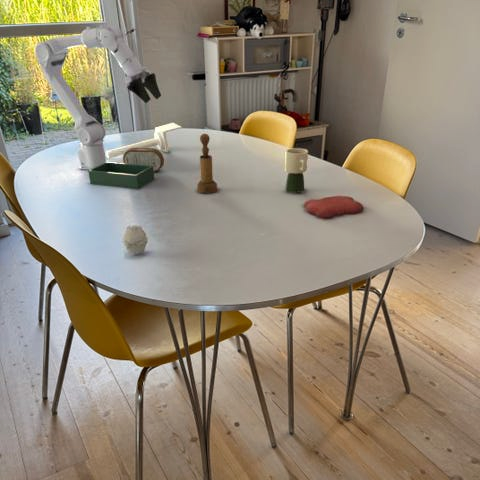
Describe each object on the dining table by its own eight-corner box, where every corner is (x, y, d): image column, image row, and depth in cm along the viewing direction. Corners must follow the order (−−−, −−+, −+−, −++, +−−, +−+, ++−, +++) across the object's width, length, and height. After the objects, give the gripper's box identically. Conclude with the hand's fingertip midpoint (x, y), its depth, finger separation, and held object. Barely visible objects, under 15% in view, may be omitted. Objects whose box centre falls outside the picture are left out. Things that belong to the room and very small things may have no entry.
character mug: (312, 194, 156) (315, 153, 149) (292, 197, 154) (294, 156, 147) (297, 185, 164) (299, 145, 157) (278, 187, 162) (279, 147, 155)
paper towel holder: (181, 126, 199) (107, 146, 189) (185, 147, 204) (113, 168, 194) (173, 122, 206) (101, 141, 196) (177, 143, 211) (107, 162, 201)
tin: (165, 170, 181) (163, 147, 176) (163, 173, 178) (161, 149, 173) (126, 170, 182) (123, 147, 177) (123, 172, 179) (120, 149, 175)
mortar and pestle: (214, 194, 158) (211, 136, 148) (195, 193, 159) (191, 136, 149) (219, 187, 163) (217, 132, 153) (200, 186, 164) (197, 131, 154)
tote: (90, 183, 169) (87, 170, 166) (108, 174, 178) (106, 161, 175) (138, 189, 163) (136, 175, 160) (154, 179, 172) (153, 166, 170)
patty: (319, 220, 137) (319, 214, 136) (296, 205, 148) (297, 198, 147) (371, 211, 143) (371, 205, 141) (345, 197, 153) (346, 191, 152)
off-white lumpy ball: (150, 246, 124) (147, 221, 120) (147, 258, 118) (143, 232, 115) (127, 247, 124) (123, 221, 120) (122, 259, 118) (118, 233, 114)
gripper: (124, 56, 152) (151, 95, 156) (147, 52, 163) (171, 88, 167) (111, 70, 156) (137, 108, 160) (133, 65, 167) (157, 100, 171)
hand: (153, 99), depth 164 cm, fingers open, 7 cm apart
